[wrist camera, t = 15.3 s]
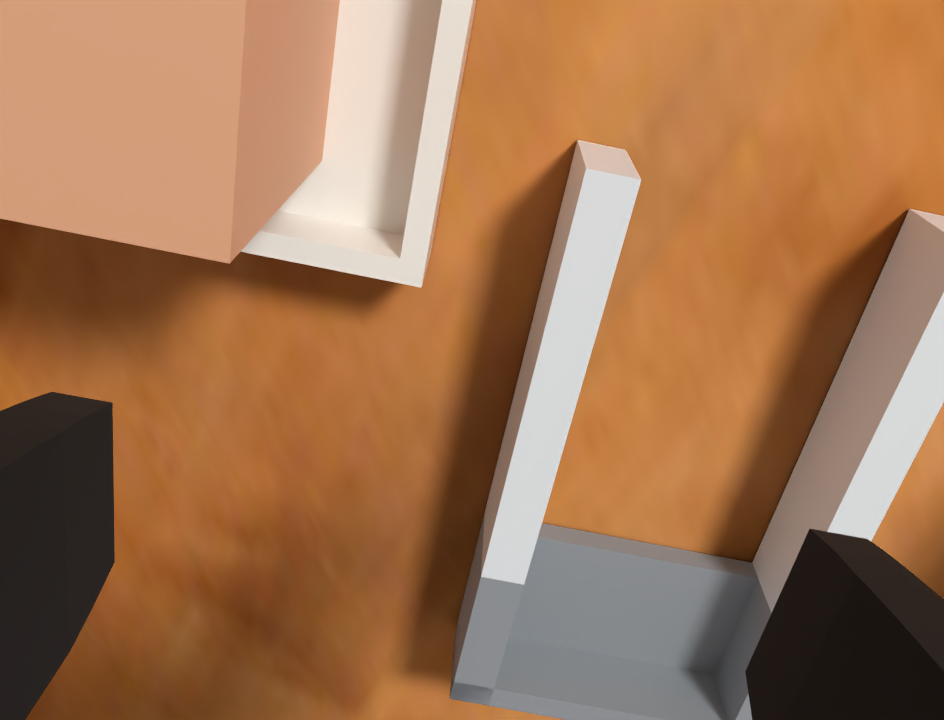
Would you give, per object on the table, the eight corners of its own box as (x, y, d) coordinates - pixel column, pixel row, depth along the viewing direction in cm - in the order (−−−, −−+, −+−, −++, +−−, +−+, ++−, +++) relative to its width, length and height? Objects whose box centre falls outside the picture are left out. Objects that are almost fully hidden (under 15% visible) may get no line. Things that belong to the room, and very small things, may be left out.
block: (322, 160, 17) (229, 263, 11) (122, 120, 17) (-68, 205, 11) (346, -59, 15) (249, -61, 10) (122, -108, 15) (-104, -135, 9)
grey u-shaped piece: (737, 678, 23) (760, 754, 21) (455, 627, 23) (449, 698, 21) (789, 569, 21) (820, 639, 19) (484, 512, 21) (480, 576, 19)
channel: (789, 569, 21) (820, 639, 19) (484, 512, 21) (480, 576, 19) (956, 218, 17) (1018, 257, 15) (577, 139, 17) (586, 168, 15)
